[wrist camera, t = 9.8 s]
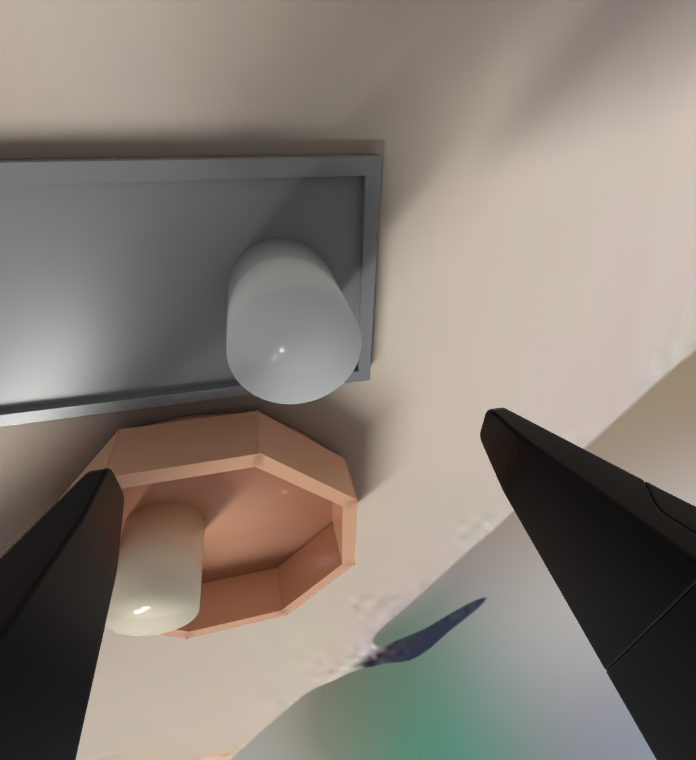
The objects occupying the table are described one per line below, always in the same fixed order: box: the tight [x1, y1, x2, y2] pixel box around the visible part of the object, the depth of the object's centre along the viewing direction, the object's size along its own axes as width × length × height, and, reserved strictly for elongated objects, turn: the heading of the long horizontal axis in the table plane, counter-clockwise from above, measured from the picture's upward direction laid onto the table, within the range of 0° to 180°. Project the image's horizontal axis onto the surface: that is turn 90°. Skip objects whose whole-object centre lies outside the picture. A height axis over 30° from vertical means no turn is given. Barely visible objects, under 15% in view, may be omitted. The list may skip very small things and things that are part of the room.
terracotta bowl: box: [59, 410, 358, 639], centre depth 23 cm, size 16×16×4 cm
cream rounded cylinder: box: [105, 502, 205, 636], centre depth 21 cm, size 4×4×5 cm
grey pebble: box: [226, 238, 362, 404], centre depth 15 cm, size 4×4×5 cm
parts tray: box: [0, 154, 382, 427], centre depth 16 cm, size 18×10×1 cm, turn 89°
